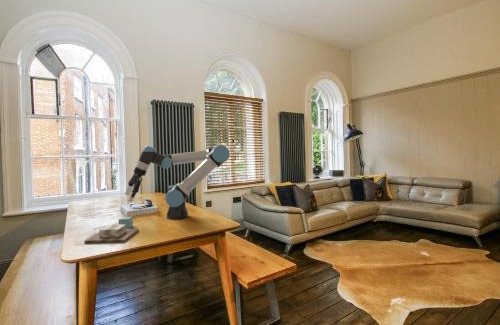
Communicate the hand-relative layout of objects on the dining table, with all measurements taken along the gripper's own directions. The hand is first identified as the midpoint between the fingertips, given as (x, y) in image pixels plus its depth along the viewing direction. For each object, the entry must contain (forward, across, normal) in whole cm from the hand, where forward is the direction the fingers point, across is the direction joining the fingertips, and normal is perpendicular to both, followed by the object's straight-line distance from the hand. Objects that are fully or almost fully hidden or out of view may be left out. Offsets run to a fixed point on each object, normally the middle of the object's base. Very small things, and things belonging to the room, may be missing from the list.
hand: (128, 198), depth 174 cm
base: (+16, +28, -6) cm, 33 cm away
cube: (+15, +12, +3) cm, 19 cm away
